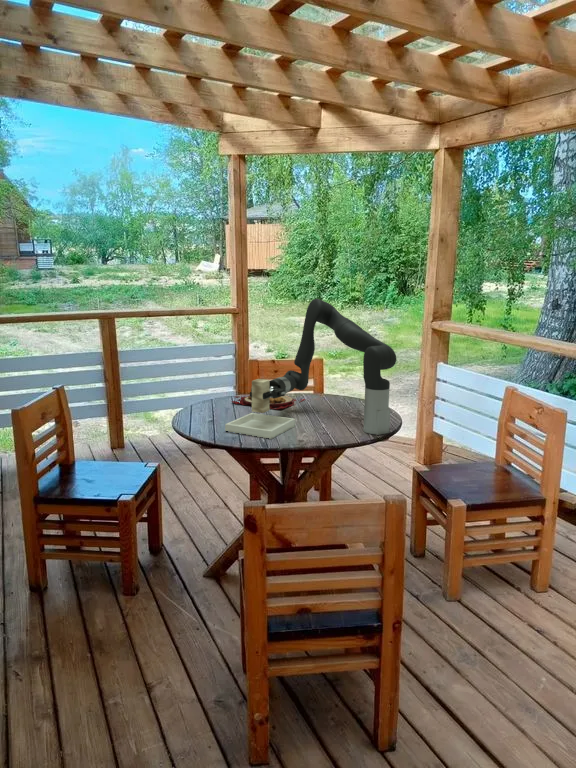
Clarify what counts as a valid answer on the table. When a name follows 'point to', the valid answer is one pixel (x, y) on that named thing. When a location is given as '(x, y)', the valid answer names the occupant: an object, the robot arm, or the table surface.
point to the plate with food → (270, 401)
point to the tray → (260, 425)
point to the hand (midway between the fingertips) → (257, 395)
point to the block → (260, 395)
